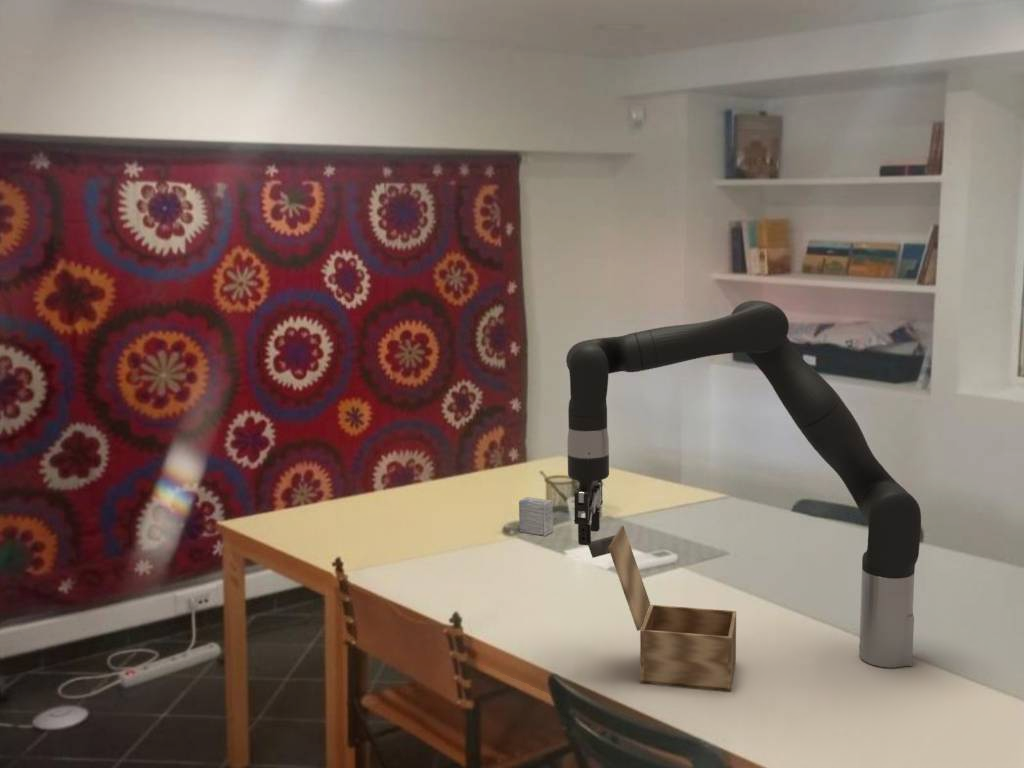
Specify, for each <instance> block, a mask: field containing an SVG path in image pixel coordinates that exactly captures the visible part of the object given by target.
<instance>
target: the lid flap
mask: <svg viewBox="0 0 1024 768" xmlns="http://www.w3.org/2000/svg"><path fill="white" fill-rule="evenodd" d="M587 546H588V549H589V552H590V554H591V557H592V559H594V558H598V557H600V556H604V555H609V554H610V557H611V558H612V559H611V560H612V562H613V565H614V568H615V570H616V574H617V577H618V581H619V582H620V586H621V588H622V591H623V594H624V596H625V600H626V602H627V606H628V607H629V608H628V610H629V611H630V614H631V617H632V620H633V623H634V626H635V629H636V631H640V630H641V628H642V625H643V622H644V620H645V618H646V615H647V612H648V610H649V607H650V605H651V602H650V598H649V595H648V593H647V590H646V587H645V584H644V582H643V579H642V576H641V572H640V569H639V567H638V564H637V560H636V558H635V555H634V552H633V550H632V547H631V544H630V541H629V539H628V535H627V532H626V529H625V527H624V525H621V526H619V528H618V530H617V532H616V533H615V535H611V536H606V537H603V538H600V539H596V540H591V543H590V545H587Z"/></svg>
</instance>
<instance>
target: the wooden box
mask: <svg viewBox="0 0 1024 768" xmlns="http://www.w3.org/2000/svg"><path fill="white" fill-rule="evenodd" d="M639 631H640V633H639V634H640V635H639V636H640V637H639V639H640V641H639V642H640V651H639V652H640V655H639V656H640V658H639V659H640V664H639V665H640V668H639V669H640V676H639V677H640V680H639V681H640V684H644V685H655V686H665V687H674V688H675V687H676V688H687V689H696V690H697V689H698V690H706V691H707V690H708V691H719V692H728V693H730V692H731V691H732V686H733V681H734V680H733V679H734V674H735V669H736V660H737V657H736V656H737V610H728V609H727V610H725V609H713V608H712V609H711V608H699V607H685V606H684V607H683V606H675V605H674V606H673V605H672V606H671V605H660V604H650V607H649V609H648V612H647V614H646V617H645V620H644V623H643V625H642V627H641V630H639Z"/></svg>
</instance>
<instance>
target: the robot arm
mask: <svg viewBox="0 0 1024 768" xmlns="http://www.w3.org/2000/svg"><path fill="white" fill-rule="evenodd" d="M789 326H790V322H789V319H788V317H787V315H786V313H785V312H784V310H782V309H781V308H780V307H779V306H778V305H776V304H773V303H771V302H769V301H764V300H763V301H762V300H747V301H744V302H742V303H740V304H738V305H737V306H736V307H735V308H734V309H733V310H732V312H731V314H729V315H726V316H723V317H719V318H716V319H711V320H707V321H702V322H696V323H688V324H679V325H677V324H675V325H669V326H662V327H657V328H656V327H655V328H651V329H645V330H641V331H636V332H631V333H627V334H625V335H620V336H609V337H601V338H600V337H599V338H592V339H587V340H586V339H585V340H582V341H579V342H577V343H575V344H573V346H571V347H570V349H569V350H568V352H567V355H566V366H567V369H568V371H569V372H568V373H569V386H570V387H569V389H570V399H569V401H568V410H567V411H568V413H567V414H568V433H567V441H566V442H567V476H568V477H569V478H570V479H571V480H574V481H575V480H576V481H577V482H578V483H579V484H578V488H577V487H576V489H575V491H574V493H573V497H574V518H573V519H574V520H573V522H574V525H577V535H578V537H577V541H578V544H579V546H588V545H590V543H591V542H592V532H599V530H600V529H601V525H600V524H601V523H600V522H601V521H600V515H601V514H600V511H601V509H602V505H603V503H604V500H603V480H605V479H607V478H608V477H609V476H610V443H609V442H610V441H609V440H610V439H609V432H608V406H607V396H608V385H609V374H615V373H618V372H625V373H637V372H638V373H639V372H642V371H648V370H653V369H657V368H662V367H666V366H671V365H675V364H680V363H683V362H687V361H688V362H689V361H692V360H696V359H701V358H706V357H712V356H713V357H714V356H719V355H727V354H738V353H745V354H746V356H747V357H749V358H750V360H751V361H752V362H753V364H755V366H757V368H758V369H759V370H760V371H761V373H762V374H763V375H764V377H765V378H766V379H767V381H768V382H769V383H770V385H771V386H772V388H773V390H774V391H775V395H777V397H778V399H779V400H780V402H781V403H782V405H783V406H784V409H786V411H787V412H788V414H789V416H790V417H791V419H792V421H793V422H794V424H795V426H797V428H798V429H799V431H800V432H801V434H802V435H803V436H804V438H805V439H806V440H807V441H808V443H809V444H810V446H812V447H813V449H814V450H815V451H816V453H817V454H818V455H819V456H820V457H821V458H822V459H823V460H824V462H826V463H827V465H829V467H830V468H832V469H833V471H834V472H835V473H836V474H837V475H838V476H839V478H840V479H841V480H842V482H843V483H844V485H845V487H846V489H847V491H848V492H849V494H850V496H851V497H852V499H853V500H854V502H855V504H856V506H857V508H858V510H859V511H860V513H861V516H862V517H863V519H864V520H865V522H866V523H867V524H868V531H867V549H866V551H864V553H863V554H862V559H861V561H862V563H861V587H860V588H861V590H860V592H861V593H860V615H859V619H860V620H859V644H858V647H859V648H858V649H859V650H858V656H859V658H860V659H861V660H862V661H863V662H865V663H867V664H869V665H872V666H876V667H881V668H891V669H892V668H893V669H895V668H903V667H912V666H913V657H914V656H913V653H914V652H913V650H914V628H915V627H914V626H915V616H914V596H915V595H914V592H915V573H916V571H915V570H916V563H917V561H918V559H919V554H920V546H921V545H920V543H921V530H922V513H921V508H920V505H919V502H917V501H918V500H916V499H915V498H914V496H913V495H911V494H910V493H909V491H907V490H906V489H905V488H904V487H903V486H901V485H900V484H899V483H898V482H897V481H896V479H894V478H893V477H892V476H891V474H890V473H889V472H888V471H887V470H886V468H884V466H883V465H882V464H881V463H880V462H879V460H878V459H877V458H876V457H875V455H874V454H873V452H872V450H871V449H870V446H869V444H868V443H867V440H866V437H865V436H864V434H863V431H862V429H861V428H860V426H859V425H860V424H858V423H859V422H857V420H856V419H855V417H854V414H852V412H851V410H849V407H848V406H847V405H846V403H845V402H844V401H843V399H842V398H841V396H840V395H839V394H838V393H837V392H836V390H835V389H834V387H832V386H831V385H830V384H829V382H827V380H826V379H825V378H823V376H821V375H820V373H818V372H817V371H816V370H815V369H814V367H812V366H811V365H810V364H809V363H808V362H806V360H805V359H804V358H803V357H802V356H801V355H800V353H799V352H798V351H797V349H796V348H795V347H794V345H793V344H792V341H791V340H790V339H789V337H788V334H789V328H790V327H789ZM582 514H584V515H585V516H584V517H582Z"/></svg>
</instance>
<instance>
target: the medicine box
mask: <svg viewBox="0 0 1024 768" xmlns="http://www.w3.org/2000/svg"><path fill="white" fill-rule="evenodd" d="M553 510H554V509H553V500H550V499H543V498H538V497H530V496H529V497H528V496H527V497H524V498H522V499H520V500H518V511H519V512H518V514H519V515H518V519H519V521H518V522H519V533H525V534H529V535H530V534H532V535H538V536H543V537H546V536H548V535H550V534H552V533H553V532H554V520H553V519H554V518H553V517H554V515H553V514H554V513H553Z"/></svg>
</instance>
